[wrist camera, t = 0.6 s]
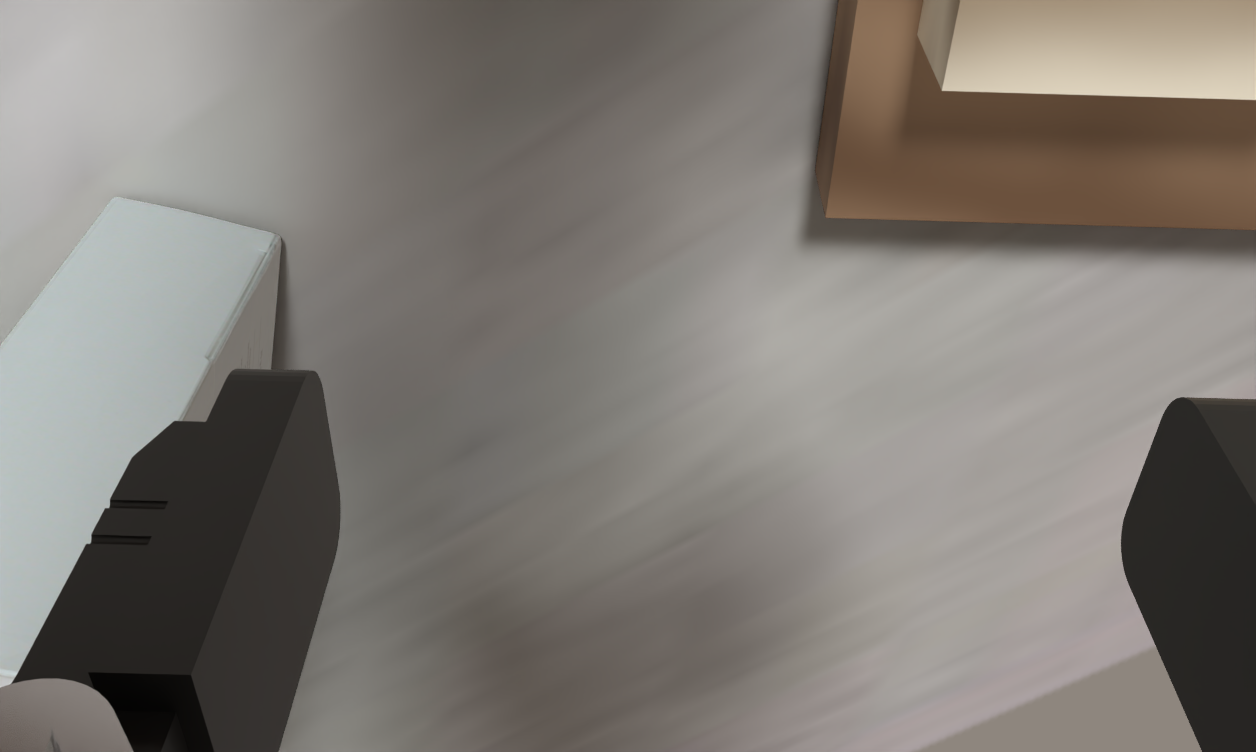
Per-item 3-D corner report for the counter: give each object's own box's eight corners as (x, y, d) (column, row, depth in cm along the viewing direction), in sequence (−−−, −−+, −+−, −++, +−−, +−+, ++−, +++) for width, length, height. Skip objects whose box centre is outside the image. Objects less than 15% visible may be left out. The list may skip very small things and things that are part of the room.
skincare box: (91, 183, 33) (-240, 629, 21) (286, 226, 34) (78, 680, 22) (106, 644, 46) (-94, 1090, 34) (247, 667, 47) (103, 1111, 35)
